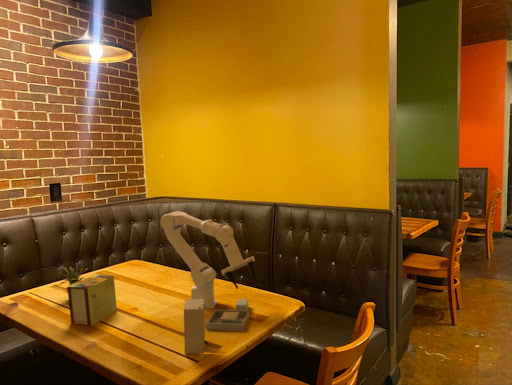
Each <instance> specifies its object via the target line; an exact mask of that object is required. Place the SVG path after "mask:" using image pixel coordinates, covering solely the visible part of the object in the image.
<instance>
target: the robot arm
mask: <svg viewBox="0 0 512 385" xmlns="http://www.w3.org/2000/svg"><path fill="white" fill-rule="evenodd" d="M160 219H161V220H160V227H162V229H163V231H164V234H165V237H166V238H167V240H168V242H169V243H170V244H171V246H172V247H173V248H174V250H175V251H176V252H177V253H178V255H179V256H180V257H181V259H182V260H183V262H184V263H185V264H186V265H187V266H188V268H189V269H190V278H191V279H192V282H193V284H194V285H192V287H191V292H190V296H191V297H190V299H204V309H214V307H215V306H216V304H217V303H218V300H216V299H215V287H214V286H215V285H214V284H215V279H216V278H217V273H216V271H215V269H214V268H212V267H211V266H209V264H207V263H206V262H202V260H201V259H200V258H199V257H198V255H197V254H196V253H195V252H194V250H193V249H192V248H191V246H190V245H189V244H188V243H187V241H186V240H185V238H184V237H183V236H182V235H181V230H182V228H183V225H187V226H191V227H193V228H196V229H199V230H201V232H202V233H203V234H205V235H209V236H211V237H213V238H215V239H216V240H217V242H219V243H220V245H221V247H222V249H223V251H224V254H225V256H226V258H227V260H228V264H229V265H230V266H227V267H225V268H224V269H222V270H220V272H221V274H222V276H224V275H225V276H226V277H227V278H228V280H230V281H231V282H232V284H233V285H234V286H235V288H236V289H237V290H238V289H239V285H238V284H237V282H236V280H235V277H234V276H233V273H232V272H233V271H235V270H238V269H241V268H242V267H245V266H247V268H248V270H249V272H250V275H251V276H250V277H251V279H252V280H253V281H254V282H256V277H255V269H254V268H255V267H254V266H255V263H254V262H255V261H256V259H255V257H254V255H253V256H250V257H248V258H246V259H243V256H242V253H241V251H240V249H239V246H238V244H237V242H236V240H235V237H234V228H233V227H232V226H231V225H229V224H224V225H223V224H222V223H218V222H215V221H213V220H212V219H206V220H202V219H199V218H197V217H194V216H192V215H190V214H188V213H187V212H185V211H181V210H176V211H173V212H170V213H165V214H163V215H162V216H161V218H160Z"/></svg>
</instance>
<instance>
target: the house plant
mask: <svg viewBox="0 0 512 385" xmlns="http://www.w3.org/2000/svg"><path fill="white" fill-rule="evenodd" d="M75 267H76V266H74V268H72V266H69V270H68V269H67V268H65V267H62V269H64V270H65V272H66V273H67V274H65V273H63V272H59V274H61V275H62V276H64V275H65V280H66V281H67V283H66V281H61V282H60V284H59V286H61V285H62V284H64V283H65V284H67V285H68V286H70V285H72V284H74V283H76V282H79V281H81V280H83V279H84V277H81V276H82V273H84V272H85V271H86V270H88V269H89V268H85V269H84V270H83V268H81V269H80V272H79V273H78V272H76V271H75ZM82 270H83V271H82ZM80 277H81V278H80ZM66 292H67V293H68V288H67V287H66Z"/></svg>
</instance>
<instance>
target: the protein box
mask: <svg viewBox="0 0 512 385" xmlns="http://www.w3.org/2000/svg"><path fill="white" fill-rule="evenodd" d="M115 287H116V286H115V275H109V274H108V275H107V274H96V273H95V274H92V275H90V276H88V277H84V278H83V279H82V280H81V281H79V282H76V283H74V284H72V285H70V284H69V285H68V286H67V287H66V288H68V292H67V296H68V298H67V299H68V305H69V314H70V323H71V324H73V323H74V324H75V325H80V326H81V325H82V326H87V327H92V326H94V325H96V324H97V323H98V322H100V321H102V320H103V319H105V318H107V317H109V316H110V315H113V313H115V312H117V309H118V308H117V297H116V288H115ZM74 324H73V325H74Z"/></svg>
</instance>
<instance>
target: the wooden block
mask: <svg viewBox="0 0 512 385" xmlns="http://www.w3.org/2000/svg"><path fill="white" fill-rule="evenodd" d="M239 322H240V312H224V313H223V315H222V317H221V323H230V324H239Z"/></svg>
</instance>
